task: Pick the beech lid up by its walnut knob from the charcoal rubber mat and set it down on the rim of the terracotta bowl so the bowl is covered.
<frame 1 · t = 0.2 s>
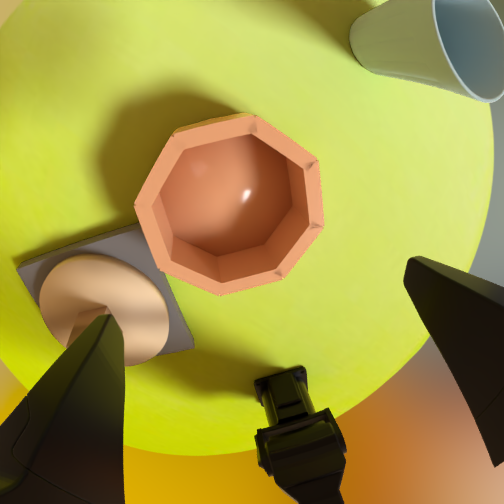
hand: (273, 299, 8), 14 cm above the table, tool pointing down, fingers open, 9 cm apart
bowl: (226, 191, 21), on the table
lid: (103, 313, 23), point 1 cm above the table, touching mat
mat: (105, 304, 24), on the table
cup: (376, 44, 17), on the table
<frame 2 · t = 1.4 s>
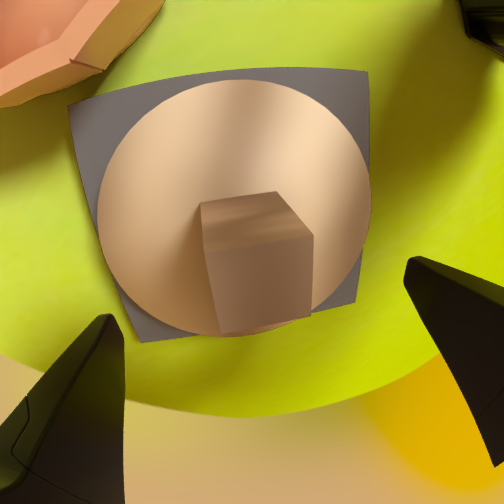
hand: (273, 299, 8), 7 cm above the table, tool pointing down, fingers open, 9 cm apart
lid: (238, 219, 13), point 1 cm above the table, touching mat
mat: (234, 210, 14), on the table
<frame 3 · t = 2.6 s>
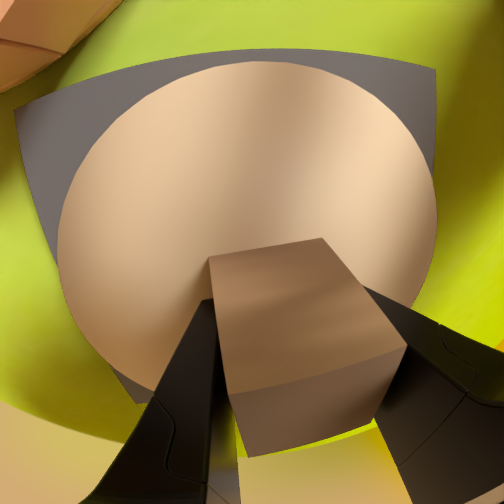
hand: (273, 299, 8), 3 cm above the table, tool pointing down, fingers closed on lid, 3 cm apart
lid: (261, 270, 9), point 1 cm above the table, touching gripper, mat
mat: (253, 251, 10), on the table
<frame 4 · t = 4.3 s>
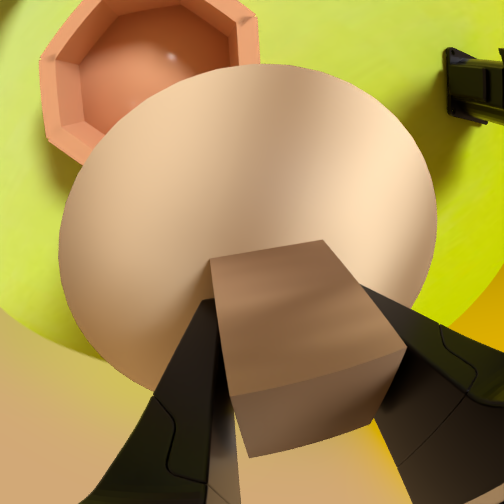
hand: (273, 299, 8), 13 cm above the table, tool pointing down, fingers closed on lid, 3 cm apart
bowl: (154, 76, 14), on the table
lid: (262, 271, 9), point 11 cm above the table, touching gripper
when the fingers open (7 cm above the table, at t = 6.0 s): lid drops 1 cm, resting on bowl.
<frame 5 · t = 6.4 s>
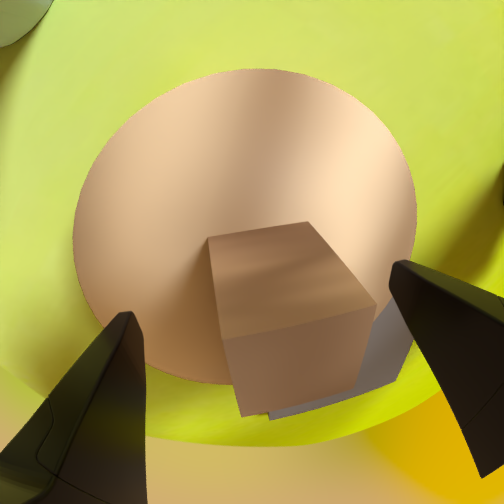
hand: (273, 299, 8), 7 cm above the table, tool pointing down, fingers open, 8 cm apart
lid: (255, 252, 10), point 4 cm above the table, touching bowl
mat: (342, 350, 21), on the table
cup: (18, 2, 6), on the table
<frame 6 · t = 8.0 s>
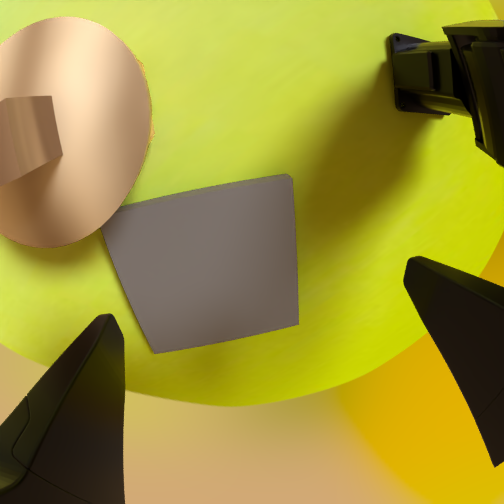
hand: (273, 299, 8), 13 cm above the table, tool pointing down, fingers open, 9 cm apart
lid: (43, 132, 11), point 4 cm above the table, touching bowl
mat: (209, 271, 22), on the table
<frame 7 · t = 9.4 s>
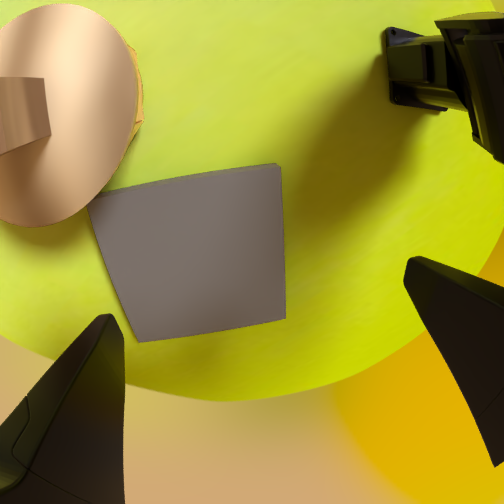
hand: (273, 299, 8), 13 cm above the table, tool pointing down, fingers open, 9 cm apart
bowl: (66, 108, 14), on the table
lid: (35, 114, 11), point 4 cm above the table, touching bowl
mat: (195, 260, 22), on the table
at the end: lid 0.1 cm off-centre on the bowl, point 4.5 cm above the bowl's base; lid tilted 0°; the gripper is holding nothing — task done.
